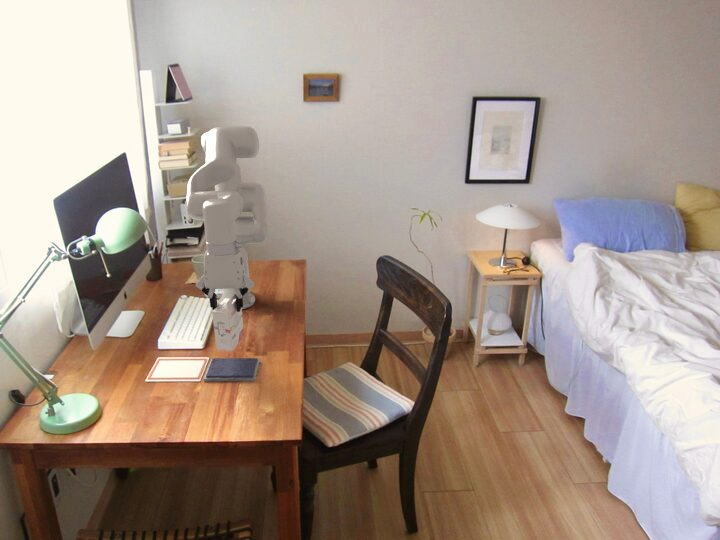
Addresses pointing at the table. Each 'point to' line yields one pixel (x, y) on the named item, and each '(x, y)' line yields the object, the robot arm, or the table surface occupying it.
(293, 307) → the table surface
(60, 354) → the table surface
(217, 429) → the table surface
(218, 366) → the ink pad
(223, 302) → the ink cartridge box
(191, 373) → the print sheet
